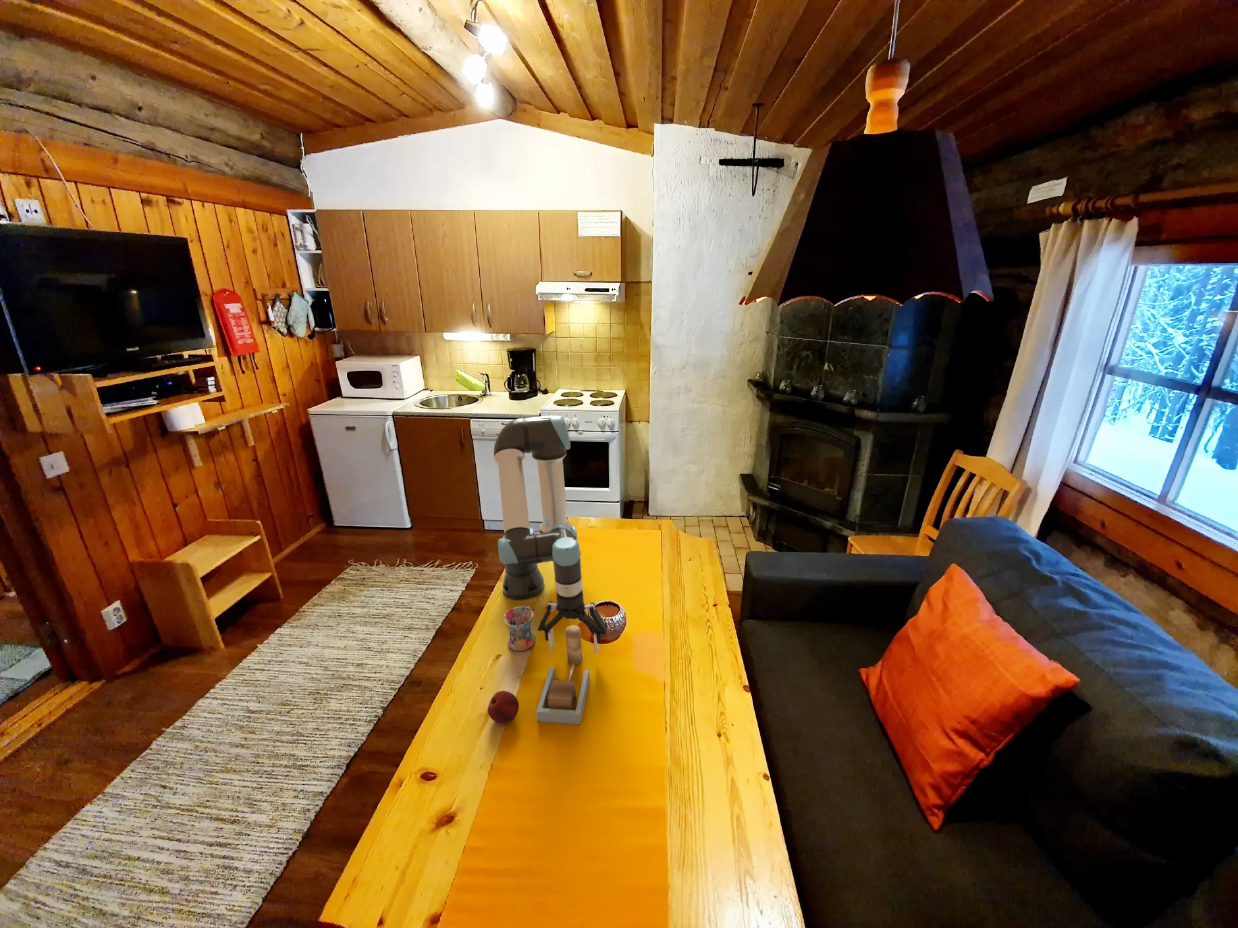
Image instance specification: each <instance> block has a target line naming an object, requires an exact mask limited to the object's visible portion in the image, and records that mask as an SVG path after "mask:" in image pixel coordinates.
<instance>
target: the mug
mask: <svg viewBox="0 0 1238 928" xmlns="http://www.w3.org/2000/svg"><path fill="white" fill-rule="evenodd" d="M534 613H535V612H533V609H532V608H531V606H523V605H522V606H515V607H512V608H511V609H509V610H507V611H506V612H505V613H504V615H503V618H502V619H503V622H504V624H505V625H506V627H507V629H508V632H509V638H508V641H507V645H508V647H509V648H510V649H511V650H513V651H518V652H519V651H525V650H528V649H530V648H531V647H532V646H533V645H534V644H535V642H536V636H535V635H534V633H533V631H532V621H533V619H534V615H535V614H534Z"/></svg>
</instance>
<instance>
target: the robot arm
mask: <svg viewBox="0 0 1238 928" xmlns="http://www.w3.org/2000/svg"><path fill="white" fill-rule="evenodd" d="M570 449H571V441H570V436H569V432H568V427H567V423H566V421H565V418H564V417H563V416H561V415H549V414H548V415H542V416H533V417H532V416H531V417H525V418H522V417H520V418H516V419H515V418H514V419H513V420H511V421H509V422H508V423H506V425H504V427H503V428H502V429H501V430H500V431H499V433H498V435H497V437H496V440H495V442H494V446H493V459H494V462H495V463H496V464H497V469H498V478H499V487H500V488H499V489H500V499H501V510H502V511H501V514H502V522H503V523H502V524H503V532H504V535H503V536H502V538H499V539H498V540H497V547H498V548H497V549H498V557H499V561H500V563H502V564H504V571H505V572H504V578H503V582H502V590H503V591H502V593H503V594H504V595H505V596H506V597H507V598H509V599H511V600H516V601H522V600H524V601H525V600H528V599H532V598H535V597H537V595H539V594H540V593H542V591H543V590H544V588H545V579H544V577H543V575H542V572H541V570H540V569H539V566H538V564H541V563H542V564H543V563H550V562H552V564H553V571H554V582H555V583H554V584H555V591H556V593H555V594H556V603H555V602H553V601H552V600H548V602H547V605H546V610H545V612H544V614H543V617H542V619H541V620H540V622H539V625H538V628H537V630H538V631H539V632H542V631H543V633H544V640H545V641H547V642H548V646H549V652H553V650H554V647H555V639H554V638H555V637H554V629H553V628H554V627H555V626H556V625H557V624H558V623H559V622H560V621H562V620H563V619H564V618H565V620H570V619H571V620H577V619H578V621H580V622H582V623H583V624H585V626H587V627H588V629H589V630H591V631H592V632H593V645H594V655H595V654H596V655H598V652H599V647H600V645H599V644H601V643H602V635H606V634H607V631H608V626H607V624H606V622H605V621H604V619H603V618H602V616H601V615H600V613H599V612H598V610H597V609H596V603H595V602H590V604H586V603H585V601H584V590H583V575H582V561H581V560H582V558H581V555H582V552H581V548H580V544H579V541H578V532H577V528H576V526H575V525H572V524H573V523H572V522H571V520H569V519H568V511H567V499H566V488H565V475H564V463H563V462H564V461H563V460H564V458H565V457H566V456H567V450H570ZM525 454H531V458H532V459H533V460H535V461H536V462H537V472H538V481H539V492H540V501H541V502H540V503H541V511H542V520H543V522H542V523H540V525H539V530H534V528H533V527H531V526H530V519H529V510H528V509H529V508H528V501H527V492H526V485H525V477H524V476H525V474H524V465H523V461H524V460H525V458H526V456H525ZM555 609H556V611H558V612H557V613H556V614H555V615H554V616H553V618H551V619H550V621H549V622H548V623H546V622H547V621H548V619H549V618H550V616H551V612H553V611H554V610H555ZM587 612H588V614H587ZM589 614H590V616H591V617H590V616H589Z"/></svg>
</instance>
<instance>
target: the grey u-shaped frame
mask: <svg viewBox="0 0 1238 928" xmlns="http://www.w3.org/2000/svg"><path fill="white" fill-rule="evenodd" d="M548 670H549V671H548V673H547V676H546V678H545V679H546V680H545V682H544V686H543V688H542V689H543V690H542V692H541V695H540V699H539V702H538V705H537V708H536V712H535V713H536V721H537V722H538V721H540V722H542V723H551V722H553V723H554V724H565V725H567V724H568V725H578V724H580V725H581V723H582V719H583V715H582V714H583V713H584V709H585V704H586V700H587V694H588V691H589V690H588V689H589V686H588V685H590V681H589V680H591V677H590V676H591V675H590V669H588V668H587V669H586V668H585V669H584V673H583V677H582V681H581V686H580V689H579V690H580V691H579V696H578V699H577V704H576V708H575V709H574V710H562V709H549V708H547V707H546V706H548V696H549V692H550V689H551V686H552V682H553V680H555V679H556V670H555V667H554V666H553V667H552V666H550V667H549V669H548ZM554 678H555V679H554Z"/></svg>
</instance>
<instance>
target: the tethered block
mask: <svg viewBox="0 0 1238 928" xmlns="http://www.w3.org/2000/svg"><path fill="white" fill-rule="evenodd" d="M564 632H565V642H566V643H565V645H566V656H567V662H568V663H569V664H570V665H571V664H572V665H571V667H570V670H569V675H568V679H567V680H555V679H554V680H553V682H552V686H551V689H550V692H549V696H548V703H547V706H548V709H562V710H573V709H574V710H575V705H574V704H576V701H575V700H577V694H576V691H577V690H576V682H575V681H574V680H572V678H573V674H574V670H575V666H576V665H575V664H577V665H579V664H581V663H582V662H583V649H582V636H581V628H580V627H579V626H578V625H572V624H571V625H570V626H567V627H566V628H565V630H564ZM580 662H581V663H580ZM572 673H573V674H572ZM571 677H572V678H571Z"/></svg>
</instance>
